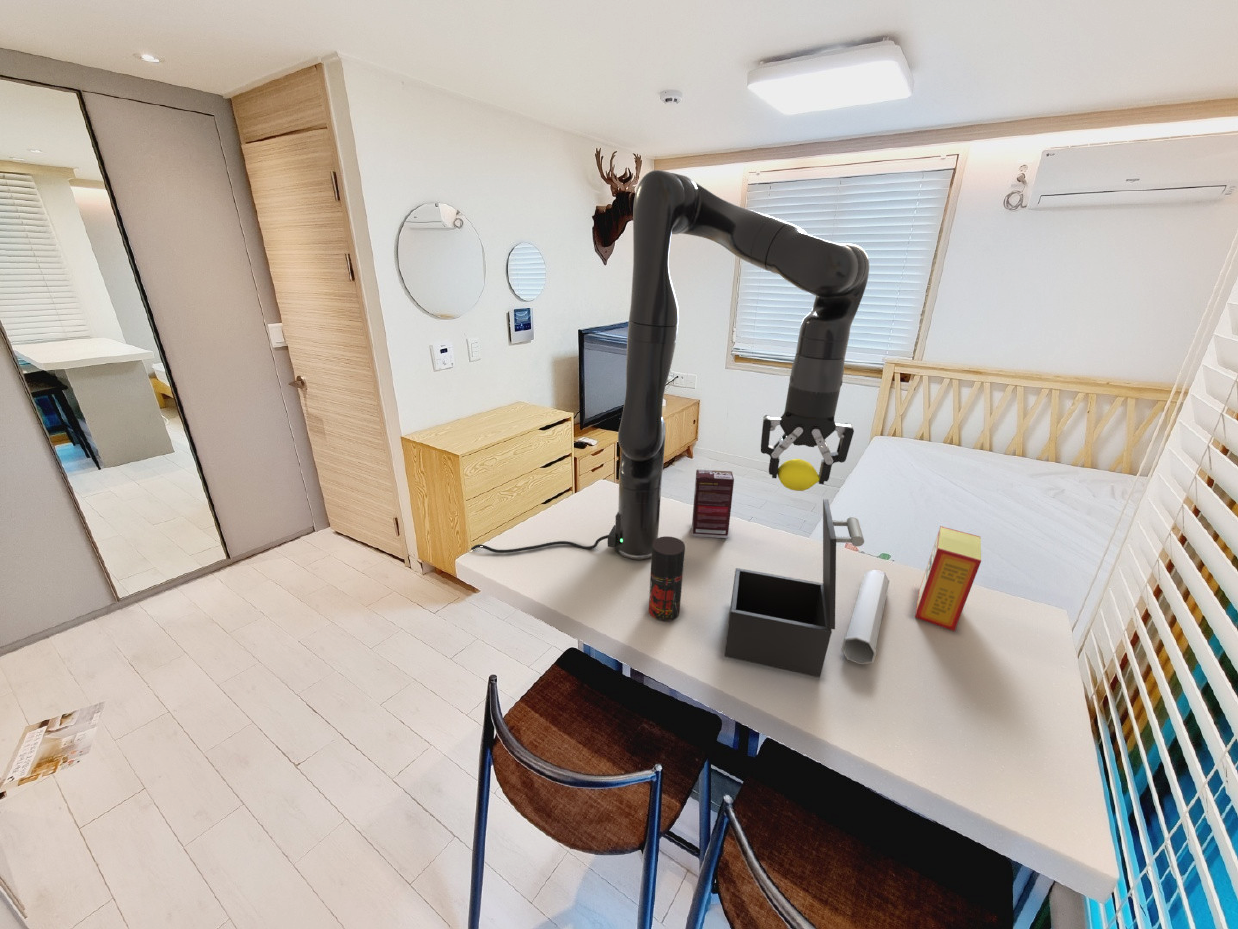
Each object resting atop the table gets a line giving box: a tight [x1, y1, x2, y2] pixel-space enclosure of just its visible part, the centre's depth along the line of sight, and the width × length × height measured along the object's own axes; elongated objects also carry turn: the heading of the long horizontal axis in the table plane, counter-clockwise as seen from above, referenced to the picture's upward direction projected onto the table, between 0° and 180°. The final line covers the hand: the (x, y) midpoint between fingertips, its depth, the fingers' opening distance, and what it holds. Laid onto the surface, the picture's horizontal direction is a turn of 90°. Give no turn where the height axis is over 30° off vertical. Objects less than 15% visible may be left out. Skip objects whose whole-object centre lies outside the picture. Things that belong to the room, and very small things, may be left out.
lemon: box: [777, 458, 820, 492], centre depth 84 cm, size 7×5×5 cm
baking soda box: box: [914, 525, 982, 632], centre depth 95 cm, size 10×6×16 cm
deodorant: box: [648, 535, 686, 623], centre depth 93 cm, size 6×6×15 cm
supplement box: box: [691, 469, 735, 539], centre depth 119 cm, size 9×5×16 cm, turn 84°
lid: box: [822, 498, 865, 630], centre depth 80 cm, size 16×13×5 cm
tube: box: [841, 568, 890, 665], centre depth 94 cm, size 5×5×25 cm
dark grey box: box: [724, 567, 833, 678], centre depth 88 cm, size 16×13×10 cm
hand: (796, 479), depth 85 cm, fingers closed on lemon, 7 cm apart
